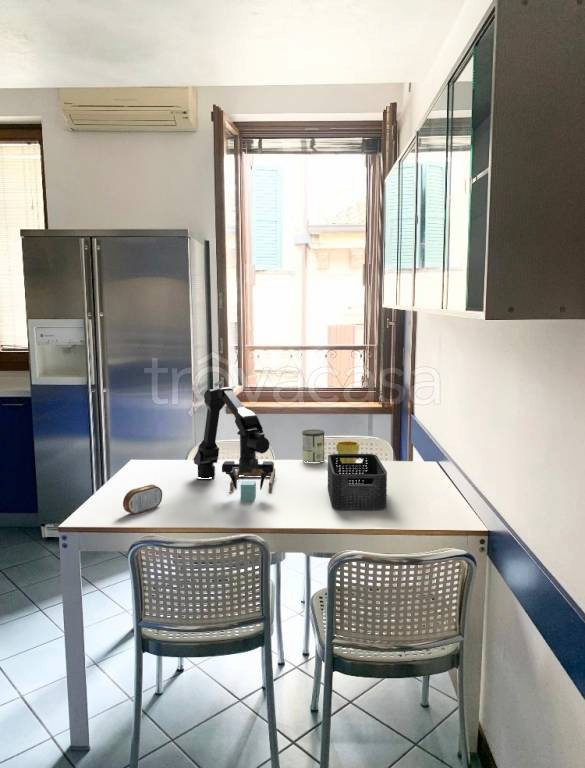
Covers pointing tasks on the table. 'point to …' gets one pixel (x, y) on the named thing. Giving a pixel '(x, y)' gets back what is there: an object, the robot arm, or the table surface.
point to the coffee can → (313, 445)
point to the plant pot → (347, 450)
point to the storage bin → (357, 483)
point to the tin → (142, 499)
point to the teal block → (248, 490)
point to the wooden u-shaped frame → (255, 473)
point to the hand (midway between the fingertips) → (248, 489)
